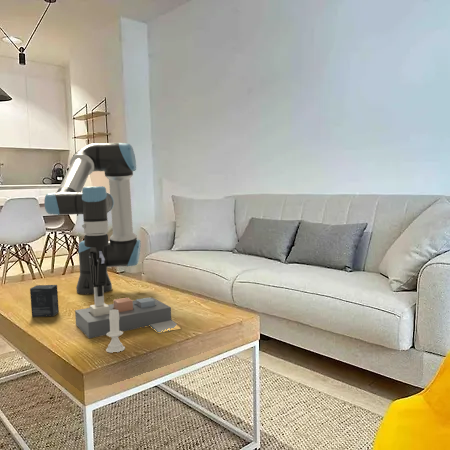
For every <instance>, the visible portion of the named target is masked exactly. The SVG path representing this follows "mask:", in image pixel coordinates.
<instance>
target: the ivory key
mask: <svg viewBox="0 0 450 450" xmlns="http://www.w3.org/2000/svg"><path fill="white" fill-rule="evenodd" d="M108 305H109V304H107V303H106V302H104V305H102V306H95V304H91V305H89V308H90V314H91V315H92V316H93V317H95V316H101V315H106V314H109V311H110V308H109V306H108Z"/></svg>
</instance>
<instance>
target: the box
mask: <svg viewBox="0 0 450 450" xmlns="http://www.w3.org/2000/svg"><path fill="white" fill-rule="evenodd" d="M29 294H30V306H31V317H32V318H38V317H40V318H41V317H54V316H55V315H57V314H58V313H60V312H59V311H60V310H59V296H58V295H59V292H58V285H57V284H41V285H40V284H36V285H34V286H33V287H31V288H29Z"/></svg>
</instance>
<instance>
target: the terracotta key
mask: <svg viewBox="0 0 450 450" xmlns="http://www.w3.org/2000/svg"><path fill="white" fill-rule="evenodd" d="M112 301H113V303H112V304H114V309H116V310H118V311H119V312H123V311H128V310H133V300H132V299H130V298H129V297H122V298H116V299H113V300H112Z"/></svg>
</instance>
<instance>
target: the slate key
mask: <svg viewBox="0 0 450 450" xmlns="http://www.w3.org/2000/svg"><path fill="white" fill-rule="evenodd" d="M135 300H136V306H138V307H139V308H145V307H151V306H155V300H153V299H151V297H144V298H136V299H135Z"/></svg>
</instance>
